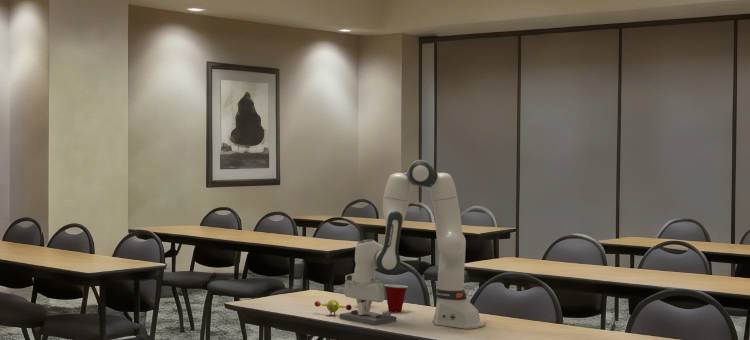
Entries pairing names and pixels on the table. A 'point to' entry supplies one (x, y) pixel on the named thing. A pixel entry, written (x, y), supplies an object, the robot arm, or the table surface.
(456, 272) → the robot arm
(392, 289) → the plastic cup
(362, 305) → the block
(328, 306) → the toy figure
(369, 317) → the console
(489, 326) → the table surface
